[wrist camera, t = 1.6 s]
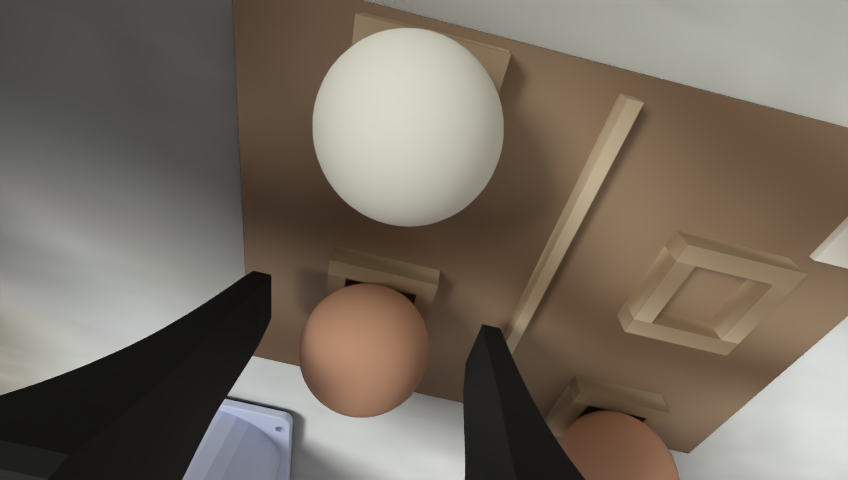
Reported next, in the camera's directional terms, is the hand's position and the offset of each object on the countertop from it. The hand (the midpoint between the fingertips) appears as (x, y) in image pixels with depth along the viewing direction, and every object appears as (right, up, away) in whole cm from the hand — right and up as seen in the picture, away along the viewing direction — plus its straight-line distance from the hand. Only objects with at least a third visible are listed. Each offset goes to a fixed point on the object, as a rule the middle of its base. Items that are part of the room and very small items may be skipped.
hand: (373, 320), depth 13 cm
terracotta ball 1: (0, -1, -1) cm, 1 cm away
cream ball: (+1, +5, -5) cm, 7 cm away
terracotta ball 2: (+9, -6, +1) cm, 11 cm away
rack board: (+5, +1, 0) cm, 6 cm away
